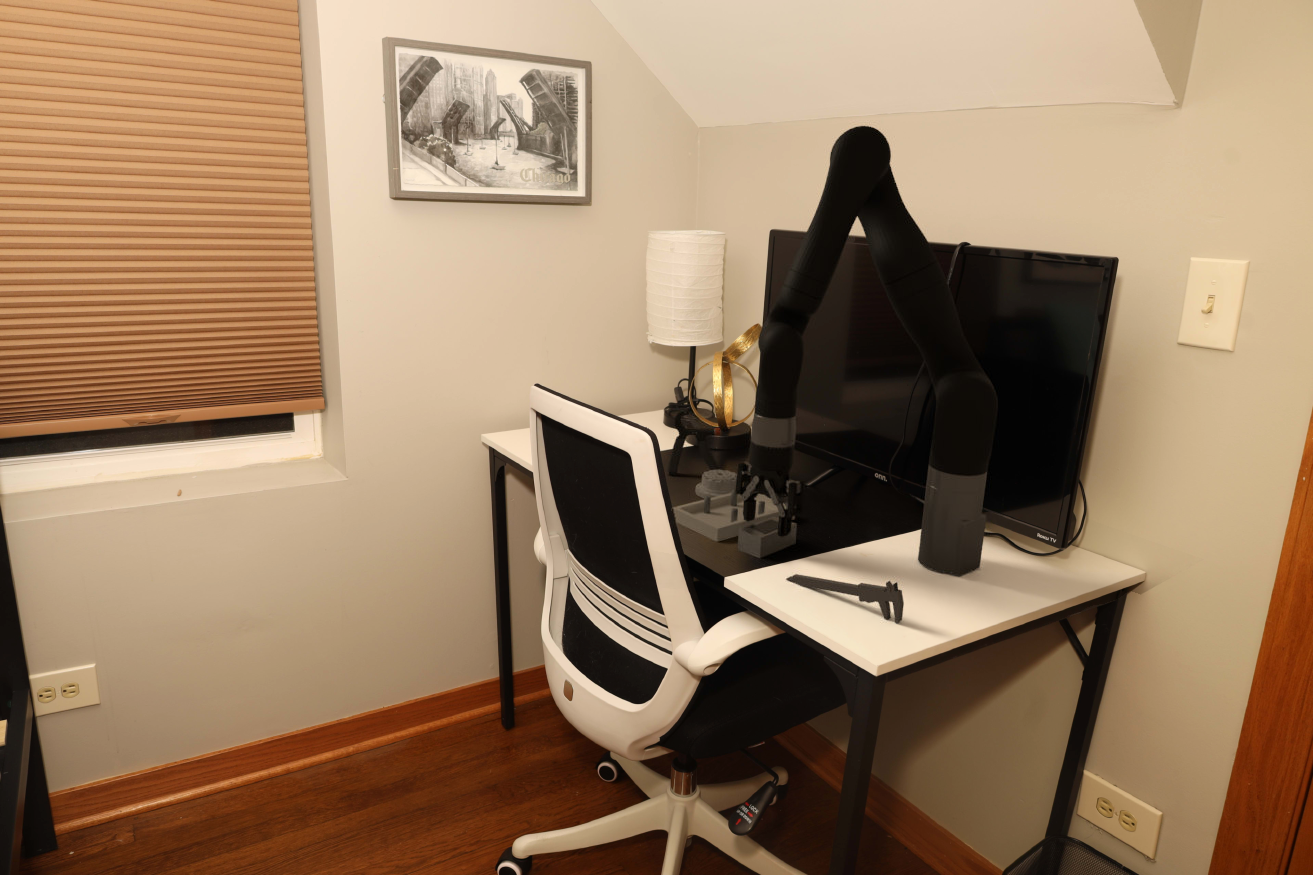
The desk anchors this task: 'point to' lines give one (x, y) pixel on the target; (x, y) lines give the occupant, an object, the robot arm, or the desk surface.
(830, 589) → the caliper
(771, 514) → the pin tray
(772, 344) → the robot arm
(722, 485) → the mechanical component
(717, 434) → the hand grip strengthener
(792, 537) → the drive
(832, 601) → the desk surface
